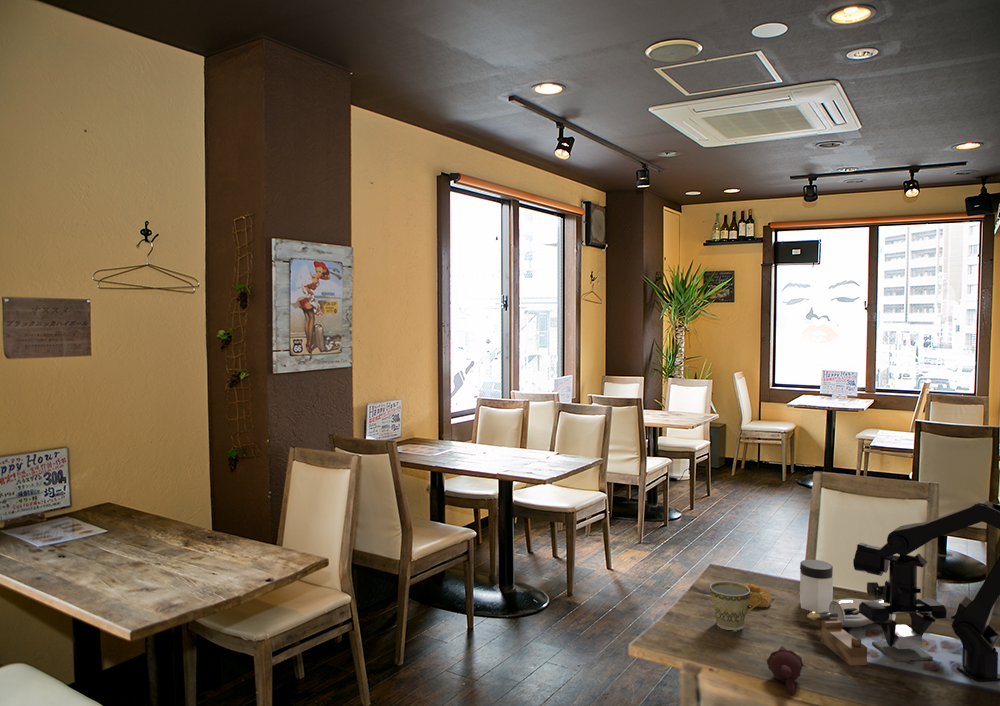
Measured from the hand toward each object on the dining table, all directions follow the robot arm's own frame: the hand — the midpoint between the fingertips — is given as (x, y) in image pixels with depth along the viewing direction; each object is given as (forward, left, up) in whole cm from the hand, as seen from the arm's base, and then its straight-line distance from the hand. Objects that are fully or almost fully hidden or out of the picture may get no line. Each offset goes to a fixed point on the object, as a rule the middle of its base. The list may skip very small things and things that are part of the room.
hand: (902, 645), depth 168 cm
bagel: (+33, +22, -2) cm, 40 cm away
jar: (+27, +6, -2) cm, 28 cm away
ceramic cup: (+18, +33, -2) cm, 38 cm away
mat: (0, 0, -2) cm, 2 cm away
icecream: (-9, +34, -2) cm, 35 cm away
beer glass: (+16, -7, +1) cm, 17 cm away
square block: (0, 0, 0) cm, 1 cm away
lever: (+11, +14, +2) cm, 18 cm away
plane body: (+1, +14, -2) cm, 14 cm away
